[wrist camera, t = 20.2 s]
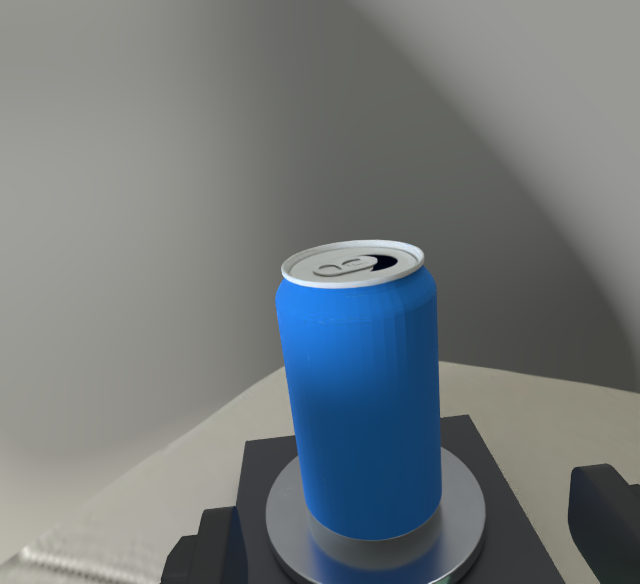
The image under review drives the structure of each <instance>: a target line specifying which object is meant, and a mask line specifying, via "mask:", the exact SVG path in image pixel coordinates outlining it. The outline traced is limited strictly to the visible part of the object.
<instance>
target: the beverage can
mask: <svg viewBox="0 0 640 584" xmlns="http://www.w3.org/2000/svg"><path fill="white" fill-rule="evenodd" d="M423 263H424V254H423V252H422V251H421V249H419V248H417V247H415V246H413V245H411V244H407V243H403V242H397V241H387V240H357V241H347V242H339V243H333V244H327V245H322V246H318V247H314V248H311V249H308V250H305V251H302V252H299V253H297V254H295V255H293V256H291V257H290V258H288V259H287V260H286V261H285V262H284V263H283V265H282V274H283V276H284V279H283V281H282V282H281V284H280V286H279V288H278V290H277V293H276V300H275V303H276V310H277V316H278V322H279V330H280V336H281V343H282V350H283V356H284V363H285V370H286V377H287V383H288V390H289V397H290V403H291V410H292V417H293V423H294V430H295V437H296V443H297V450H298V457H299V464H300V470H301V477H302V484H303V490H304V497H305V501H306V504H307V507H308V509H309V511H310V512H311V514H312V515H313V517H314V518H315V519H316V520H317V521H318V522H319V523H320V524H321V525H323V526H324V527H325V528H327V529H328V530H330V531H332V532H334V533H336V534H338V535H341V536H344V537H347V538H351V539H355V540H363V541H381V540H389V539H393V538H397V537H400V536H403V535H406V534H408V533H410V532H412V531H414V530H416V529H418V528H419V527H421V526H422V525H424V524H425V523H426V522H427V521H428V520H429V519H430V518H431V517H432V515H433V514H434V513H435V511H436V509H437V508H438V506H439V503H440V500H441V496H442V471H441V435H440V400H439V364H438V333H437V330H438V329H437V296H436V295H437V294H436V284H435V281H434V279H433V277H432V275H431V274H430V273H429V271H428V270H427V269H426V268H425V267H424V266H423Z"/></svg>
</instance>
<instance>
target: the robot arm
mask: <svg viewBox="0 0 640 584" xmlns="http://www.w3.org/2000/svg"><path fill="white" fill-rule="evenodd" d="M568 525H569V529H570V533H571V536H572V538H573V541H574V543H575V545H576V546H577V548H578V550H579V551H580V553H581V554H582V556H583V557H584V559H585V560H586V562H587V563H588V565H589V567H590V568H591V570H592V571H593V573H594V574H595V576H596V577H597V579H598V581H599V582H600V584H640V485H639V484H634V485H629V484H628V483H627V482H626V481H625V480H624V479H623V477H622V476H621V475H620V474H619V473H618V472H617V471H616V470H615V469H614V468H613V467H612V466H611V465H609V464H599V465H590V466H582V467H575V468H574V469H573V470H572V473H571V483H570V495H569V507H568ZM160 584H248V558H247V552H246V547H245V542H244V537H243V532H242V528H241V523H240V518H239V513H238V509H237V507H236V506H232V507H223V508H215V509H206V510H204V511H203V514H202V518H201V522H200V526H199V530H198V534H197V535H191V536H182V537H181V539H180V540H179V541H178V543H177V544H176V545H175V547H174V548H173V550H172V551H171V552H170V554H169V555H168V556H167V560H166V563H165V567H164V570H163V573H162V577H161V583H160Z"/></svg>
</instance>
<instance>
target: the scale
mask: <svg viewBox="0 0 640 584" xmlns="http://www.w3.org/2000/svg"><path fill="white" fill-rule="evenodd" d="M440 435H441V447H443V448H445V449H446V450H448V451H450V452H451V453H452V454H454V455H455V456H456V457H458V458H459V459H460V460H461V461H462V462H463V463H464V464H465V465H466V466H467V467H468V469H469V470H470V471H471V472H472V473H473V475H474V477H475V478H476V480H477V482H478V483H479V485H480V488H481V490H482V493H483V496H484V500H485V505H486V531H485V538H484V542H483V545H482V548H481V551H480V553H479V555H478V557H477V559H476V560H475V562H474V564H473V565H472V566H471V568H470V569H469V570H468V571H467V573H466V574H465V575H464V576H463V577H462V578H461V579H460V580H459V581H457V582H456V583H455V584H565V582H564V580H563V579H562V577H561V575H560V573H559V572H558V570H557V568H556V566H555V565H554V563H553V561H552V559H551V558H550V556H549V554H548V552H547V551H546V549H545V547H544V546H543V544H542V542H541V540H540V539H539V537H538V535H537V533H536V532H535V530H534V528H533V526H532V525H531V523H530V521H529V519H528V518H527V516H526V514H525V512H524V511H523V509H522V507H521V505H520V504H519V502H518V500H517V498H516V497H515V495H514V493H513V491H512V490H511V488H510V486H509V485H508V483H507V481H506V479H505V478H504V476H503V474H502V472H501V471H500V469H499V467H498V465H497V464H496V462H495V460H494V458H493V457H492V455H491V453H490V451H489V450H488V448H487V446H486V444H485V443H484V441H483V439H482V437H481V436H480V434H479V432H478V430H477V429H476V427H475V425H474V424H473V422H472V420H471V418H470V417H469V415H461V416H452V417H444V418H440ZM296 456H298V450H297V443H296V437H295V435H294V436H285V437H277V438H269V439H260V440H252V441H246V442H245V448H244V455H243V462H242V468H241V475H240V481H239V488H238V494H237V501H236V507H237V509H238V513H239V518H240V523H241V528H242V532H243V537H244V542H245V547H246V552H247V558H248V584H298V583H297V582H295V581H294V580H293V579H292V578H291V577H290V576H289V575H288V574H287V573H286V571H285V570H284V569H283V568H282V567H281V565H280V564H279V562H278V560H277V559H276V557H275V555H274V553H273V550H272V548H271V545H270V542H269V537H268V531H267V526H266V511H265V510H266V504H267V499H268V496H269V493H270V490H271V488H272V486H273V484H274V482H275V480H276V478H277V477H278V476H279V474H280V473H281V471H282V470H283V469H284V468H285V467H286V466H287V465H288V463H290V462H291V461H292V460H293V459H294V458H295V457H296Z"/></svg>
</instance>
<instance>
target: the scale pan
mask: <svg viewBox="0 0 640 584" xmlns="http://www.w3.org/2000/svg"><path fill="white" fill-rule="evenodd" d="M441 471H442V496H441V500H440V503H439V506H438V508H437V509H436V511H435V513H434V514H433V515H432V517H431V518H430V519H429V520H428V521H427V522H426V523H425V524H424V525H422V526H421V527H419V528H418V529H416V530H414V531H412V532H410V533H408V534H406V535H403V536H400V537H397V538H393V539H389V540H381V541H363V540H355V539H351V538H347V537H344V536H341V535H338V534H336V533H334V532H332V531H330V530H328V529H327V528H325V527H324V526H323V525H321V524H320V523H319V522H318V521H317V520H316V519H315V518H314V517H313V515H312V514H311V512H310V511H309V509H308V507H307V504H306V501H305V497H304V490H303V484H302V477H301V470H300V464H299V457H298V456H296V457H295V458H294V459H293V460H292V461H291V462H290V463H288V465H287V466H286V467H285V468H284V469H283V470H282V471H281V473H280V474H279V476H278V477H277V478H276V480H275V482H274V484H273V486H272V488H271V490H270V493H269V496H268V499H267V504H266V510H265V511H266V526H267V531H268V537H269V542H270V545H271V548H272V550H273V553H274V555H275V557H276V559H277V560H278V562H279V564H280V565H281V567H282V568H283V569H284V570H285V571H286V573H287V574H288V575H289V576H290V577H291V578H292V579H293V580H294V581H295V582H297V583H298V584H455V583H456V582H457V581H459V580H460V579H461V578H462V577H463V576H464V575H465V574H466V573H467V571H468V570H469V569H470V568H471V566H472V565H473V564H474V562H475V560H476V559H477V557H478V555H479V553H480V551H481V548H482V545H483V542H484V538H485V531H486V505H485V500H484V496H483V493H482V490H481V488H480V485H479V483H478V482H477V480H476V478H475V477H474V475H473V473H472V472H471V471H470V470H469V469H468V467H467V466H466V465H465V464H464V463H463V462H462V461H461V460H460V459H459V458H458V457H456V456H455V455H454V454H452V453H451V452H450V451H448V450H446V449H445V448H443V447H441Z"/></svg>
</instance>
